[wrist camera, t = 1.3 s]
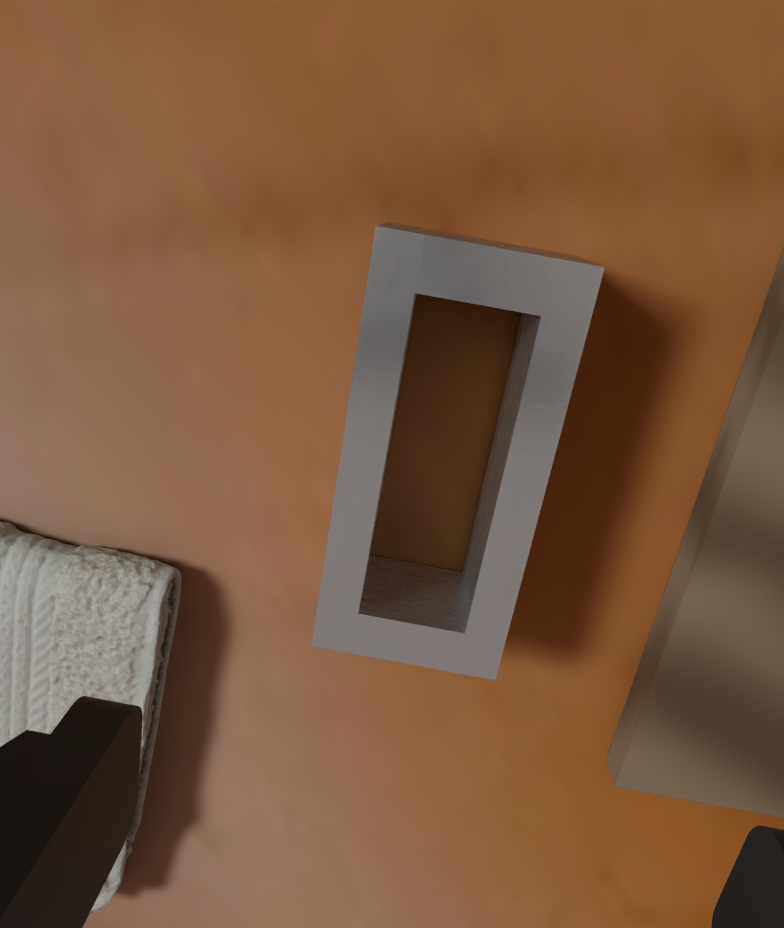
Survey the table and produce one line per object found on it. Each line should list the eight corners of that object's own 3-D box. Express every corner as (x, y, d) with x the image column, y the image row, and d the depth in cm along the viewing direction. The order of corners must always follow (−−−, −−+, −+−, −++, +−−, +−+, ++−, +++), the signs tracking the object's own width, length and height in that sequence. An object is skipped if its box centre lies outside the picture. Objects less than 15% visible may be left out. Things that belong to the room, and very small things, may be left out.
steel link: (387, 222, 22) (376, 225, 18) (577, 256, 22) (605, 267, 18) (330, 584, 27) (311, 646, 23) (487, 613, 27) (495, 680, 23)
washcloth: (-110, 823, 33) (-163, 882, 30) (-114, 475, 27) (-181, 507, 24) (139, 883, 33) (111, 947, 31) (193, 550, 27) (163, 592, 24)
